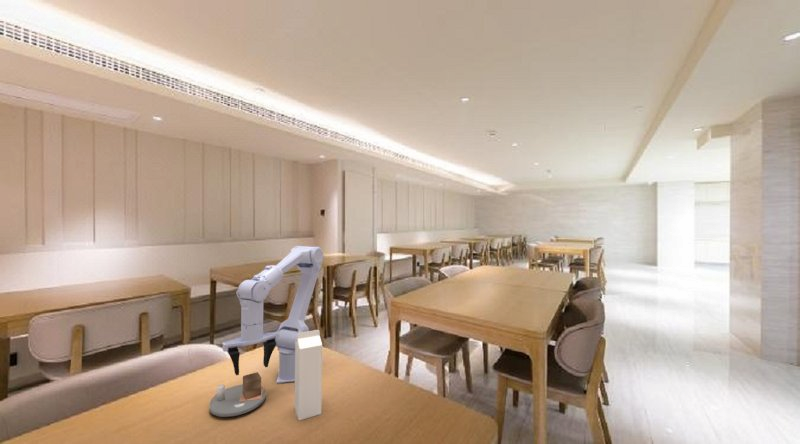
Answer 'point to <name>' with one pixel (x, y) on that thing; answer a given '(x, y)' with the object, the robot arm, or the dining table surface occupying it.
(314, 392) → the milk
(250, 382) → the walnut block
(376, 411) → the dining table surface
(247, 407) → the turntable
